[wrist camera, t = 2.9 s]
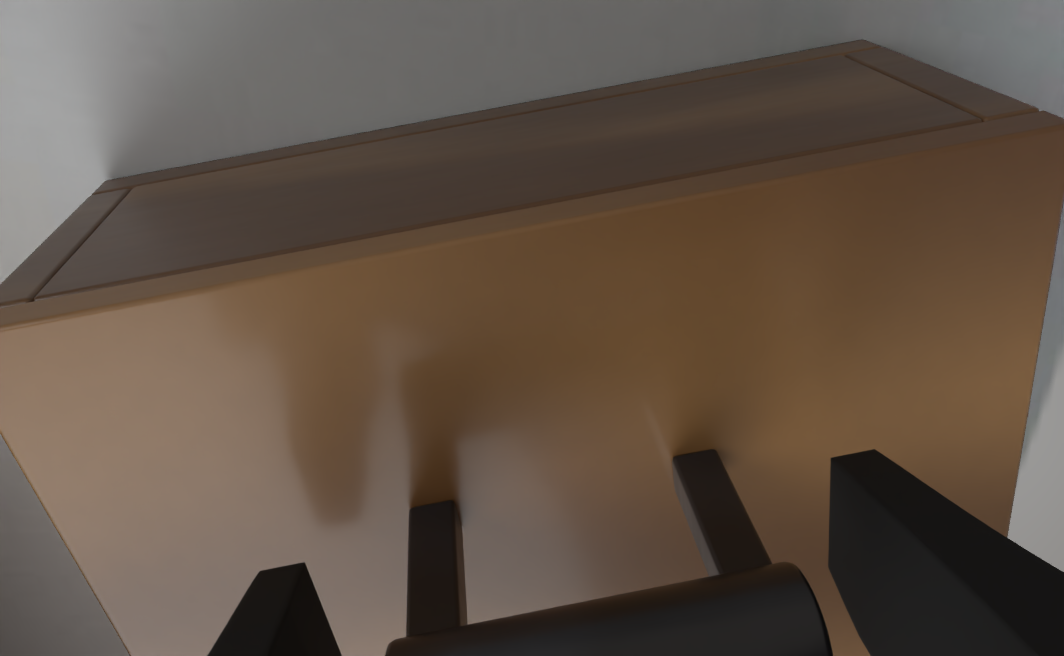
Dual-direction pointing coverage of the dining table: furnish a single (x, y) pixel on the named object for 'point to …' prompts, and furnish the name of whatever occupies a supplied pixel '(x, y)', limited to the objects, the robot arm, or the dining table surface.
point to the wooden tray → (496, 163)
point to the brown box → (553, 406)
